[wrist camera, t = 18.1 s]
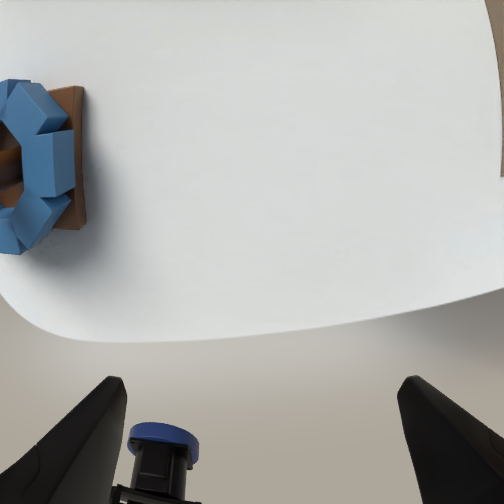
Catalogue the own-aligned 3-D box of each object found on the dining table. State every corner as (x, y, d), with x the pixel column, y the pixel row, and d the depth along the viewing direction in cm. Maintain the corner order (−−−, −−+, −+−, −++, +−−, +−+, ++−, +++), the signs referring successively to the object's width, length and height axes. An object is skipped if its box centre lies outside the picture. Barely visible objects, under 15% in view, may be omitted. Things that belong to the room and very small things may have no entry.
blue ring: (81, 242, 17) (65, 259, 15) (-22, 237, 16) (-40, 249, 14) (77, 69, 13) (56, 65, 11) (-33, 101, 12) (-54, 104, 10)
